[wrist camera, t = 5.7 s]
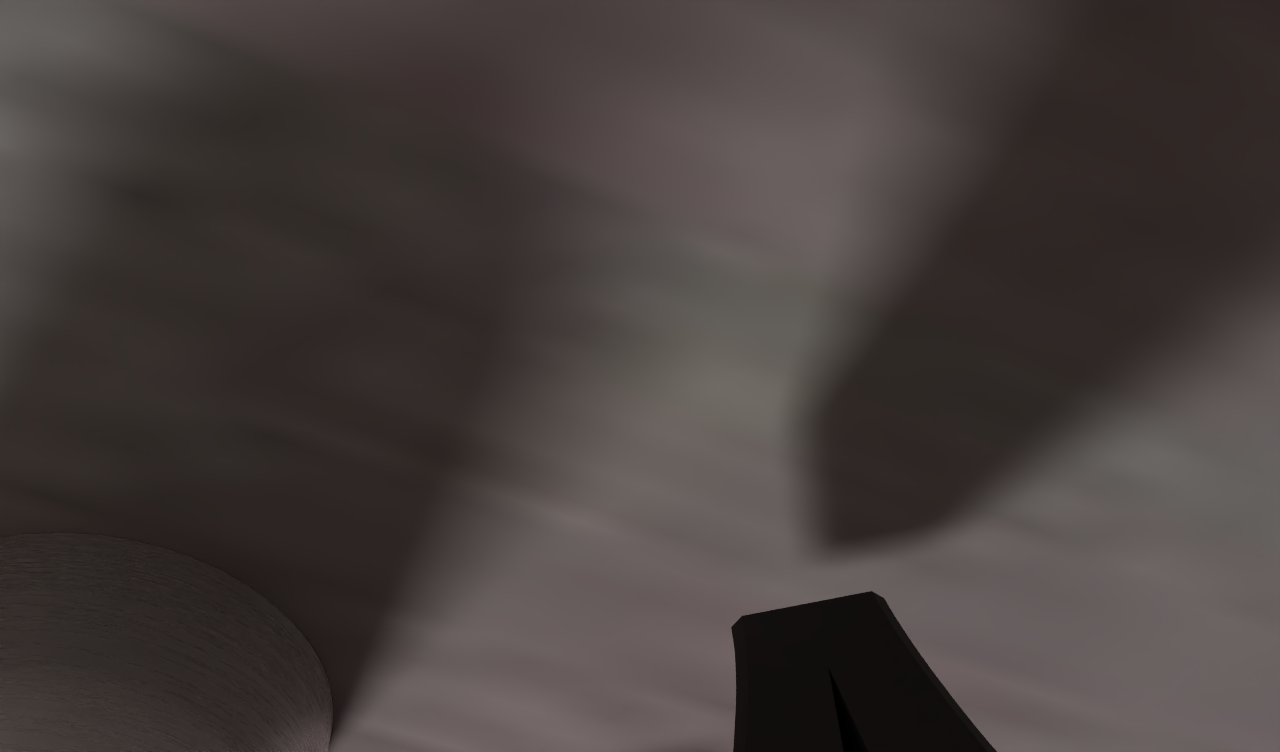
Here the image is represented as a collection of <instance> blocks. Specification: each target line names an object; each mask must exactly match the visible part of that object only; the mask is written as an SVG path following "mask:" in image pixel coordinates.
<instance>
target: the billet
mask: <svg viewBox="0 0 1280 752" xmlns="http://www.w3.org/2000/svg"><path fill="white" fill-rule="evenodd" d="M332 724H333V701H332V696H331V690H330V685H329V681H328V679H327V676H326V674H325V671H324V668H323V666H322V663H321V661H320V660H319V658H318V656H317V654H316V653H315V651H314V649H313V648H312V646H311V644H310V643H309V641H308V640H307V639H306V638H305V636H304V635H303V634H302V633H301V631H300V630H299V629H298V628H297V626H296V625H295V624H294V623H293V622H292V621H291V620H290V619H289V618H288V617H287V616H286V615H285V614H284V613H283V612H282V611H281V610H279V609H278V608H277V607H276V606H275V605H274V604H273V603H271V602H270V601H269V600H267V599H266V598H265V597H263V596H262V595H261V594H259V593H258V592H257V591H255V590H254V589H253V588H251V587H250V586H248V585H246V584H244V583H243V582H241V581H239V580H238V579H236V578H234V577H233V576H231V575H229V574H227V573H226V572H224V571H222V570H219V569H217V568H215V567H213V566H211V565H208V564H206V563H204V562H202V561H200V560H198V559H195V558H192V557H190V556H187V555H184V554H181V553H178V552H175V551H172V550H169V549H166V548H163V547H159V546H155V545H151V544H147V543H143V542H139V541H135V540H131V539H124V538H117V537H111V536H104V535H97V534H82V533H63V532H58V533H34V534H22V535H15V536H8V537H1V538H0V752H328V747H329V741H330V735H331V730H332Z"/></svg>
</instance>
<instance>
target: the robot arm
mask: <svg viewBox="0 0 1280 752" xmlns="http://www.w3.org/2000/svg"><path fill="white" fill-rule="evenodd" d="M731 628H732V635H733V641H734V648H735V662H736V716H735V734H734V750H733V752H997V751H996V750H995V749H994V748H993V747H992V746H991V744H990V743H989V742H988V741H987V740H986V738H985V737H984V736H983V735H982V734H981V733H980V731H979V730H978V729H977V728H976V727H975V725H974V724H973V723H972V722H971V720H970V719H969V718H968V717H967V715H966V714H965V713H964V712H963V710H962V709H961V708H960V707H959V705H958V704H957V703H956V702H955V700H954V699H953V698H952V696H951V695H950V694H949V692H948V691H947V690H946V688H945V687H944V686H943V684H942V683H941V682H940V681H939V679H938V678H937V677H936V675H935V674H934V673H933V671H932V670H931V669H930V667H929V666H928V664H927V663H926V662H925V660H924V659H923V657H922V656H921V655H920V653H919V652H918V650H917V649H916V648H915V646H914V645H913V643H912V642H911V640H910V639H909V637H908V636H907V634H906V633H905V631H904V630H903V628H902V627H901V625H900V624H899V622H898V621H897V619H896V617H895V616H894V614H893V613H892V611H891V609H890V608H889V606H888V604H887V602H886V601H885V599H884V598H883V597H881V596H879V595H877V594H876V593H874V592H872V591H870V592H865V593H860V594H854V595H849V596H844V597H839V598H834V599H828V600H823V601H818V602H813V603H808V604H802V605H797V606H792V607H787V608H782V609H776V610H771V611H766V612H761V613H755V614H750V615H745V616H742V617H741V618H740V619H739V620H738V621H737V622H736V623H735V624H734V625H733V626H732V627H731Z"/></svg>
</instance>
